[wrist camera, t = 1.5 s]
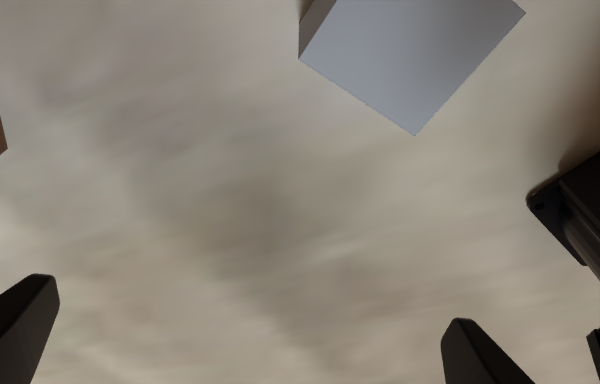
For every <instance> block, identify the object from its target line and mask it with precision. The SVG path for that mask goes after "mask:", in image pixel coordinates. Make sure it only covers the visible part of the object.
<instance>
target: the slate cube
mask: <svg viewBox="0 0 600 384" xmlns="http://www.w3.org/2000/svg"><path fill="white" fill-rule="evenodd" d="M525 14H526V12H525V11H524V10H523V9H521V8H520V7H519V6H518V5H517V4H516V3H514V2H513V1H512V0H314V1H313V2H312V4H311V6H310V7H309V9H308V10H307V12H306V14H305V15H304V17H303V18H302V20H301V22H300V23H299V53H298V60H300V61H301V62H303V63H304V64H306V65H307V66H309V67H310V68H312V69H313V70H315V71H316V72H318V73H319V74H321V75H322V76H324V77H325V78H327V79H328V80H330V81H331V82H333V83H335V84H336V85H338V86H339V87H341V88H342V89H344V90H345V91H347V92H348V93H350V94H351V95H353V96H354V97H356V98H357V99H359V100H360V101H362V102H363V103H365V104H366V105H368V106H369V107H371V108H372V109H374V110H375V111H377V112H378V113H380V114H382V115H383V116H385V117H386V118H388V119H389V120H391V121H392V122H394V123H395V124H397V125H398V126H400V127H401V128H403V129H404V130H406V131H407V132H409V133H410V134H412V135H413V136H416V134H417V133H418V132H419V131H420V130H421V129H422V128H423V127H424V126H425V124H426V123H427V122H428V121H429V120H430V119H431V118H432V117H433V116H434V114H435V113H436V112H437V111H438V110H439V109H440V108H441V107H442V106H443V105H444V103H445V102H446V101H447V100H448V99H449V98H450V97H451V96H452V95H453V93H454V92H455V91H456V90H457V89H458V88H459V87H460V86H461V85H462V83H463V82H464V81H465V80H466V79H467V78H468V77H469V76H470V75H471V73H472V72H473V71H474V70H475V69H476V68H477V67H478V66H479V65H480V63H481V62H482V61H483V60H484V59H485V58H486V57H487V56H488V55H489V54H490V52H491V51H492V50H493V49H494V48H495V47H496V46H497V45H498V44H499V42H500V41H501V40H502V39H503V38H504V37H505V36H506V35H507V34H508V32H509V31H510V30H511V29H512V28H513V27H514V26H515V25H516V24H517V22H518V21H519V20H520V19H521V18H522V17H523V16H524V15H525Z"/></svg>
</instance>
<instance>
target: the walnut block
mask: <svg viewBox="0 0 600 384" xmlns="http://www.w3.org/2000/svg"><path fill="white" fill-rule="evenodd" d="M6 149H8V148H7V144H6V140H5V135H4V131H3V127H2V123H1V118H0V154H2V153H3V152H4V151H5V150H6Z"/></svg>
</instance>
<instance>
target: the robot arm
mask: <svg viewBox="0 0 600 384" xmlns="http://www.w3.org/2000/svg"><path fill="white" fill-rule="evenodd" d="M539 202H541V203H540V204H538V205H536V204H537V203H539ZM527 207H528V208H529V209H530V211H531V212H532V213H533V214H534V215H535V216H536V217H537V218H538V220H539V221H540V222H541V223H542V224H543V225H544V226H545V227H546V228H547V229H548V230H549V231H550V232H551V233H552V234H553V235H554V237H555V238H556V239H557V240H558V241H559V242H560V243H561V244H562V245H563V246H564V247H565V248H566V249H567V250H568V251H569V252H570V254H571V255H572V256H573V257H574V258H575V259H576V260H577V261H578V262H579V263H580V264H581V265H583V266H588V267H589V268H590V269H591V270H592V272H593V273H594V274H595V276H596V277H597V278H598V279H599V281H600V152H599V153H597V154H595V155H594V156H592V157H591V158H589V159H588V160H586V161H585V162H583V163H582V164H580V165H579V166H577V167H576V168H574V169H572V170H571V171H569V172H568V173H566V174H565V175H563V176H562V177H560V178H559V179H557V180H556V181H554V182H553V183H551V184H549V185H548V186H546V187H545V188H543V189H542V190H540V191H539V192H537V193H536V194H534V195H533V196H531V197H530V198H529V199H528V201H527ZM59 306H60V299H59V294H58V290H57V285H56V280H55V278H54V277H53V276H52V275H46V274H31V275H29V276H27V277H26V278H24V279H23V280H21V281H20V282H18V283H17V284H15V285H14V286H12V287H11V288H9V289H8V290H6V291H5V292H3V293H2V294H0V384H30V383H31V381H32V378H33V376H34V374H35V371H36V369H37V366H38V363H39V361H40V358H41V356H42V353H43V350H44V348H45V345H46V342H47V340H48V337H49V335H50V332H51V329H52V327H53V324H54V321H55V319H56V316H57V314H58V311H59ZM586 338H587V341H588V345H589V348H590V351H591V354H592V358H593V361H594V364H595V367H596V371H597V374H598V377H599V380H600V328H599V329H594V330H593V331H592V332H591V333H590V334H589V335H588V336H586ZM441 354H442V361H443V367H444V374H445V381H446V384H535V383H534V382H533V381H532V380H531V379H530V378H529V377H528V376H527V375H526V374H525V372H524V371H523V370H522V369H521V368H520V367H519V366H518V365H517V364H516V363H515V362H514V361H513V360H512V359H511V358H510V357H509V356H508V355H507V354H506V353H505V352H504V351H503V350H502V349H501V348H500V347H499V346H498V345H497V344H496V343H495V342H494V341H493V340H492V339H491V338H490V337H489V336H488V335H487V334H486V333H485V331H484V330H483V329H482V328H481V327H480V326H479V325H478V324H477V323H476V322H475V321H473V320H472V319H467V318H454V319H453V320H452V322H451V323H450V325H449V327H448V328H447V330H446V332H445V333H444V335H443V337H442V339H441Z"/></svg>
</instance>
